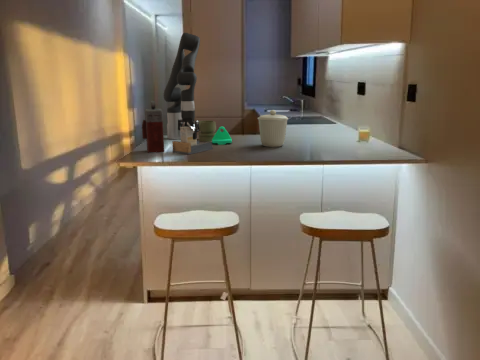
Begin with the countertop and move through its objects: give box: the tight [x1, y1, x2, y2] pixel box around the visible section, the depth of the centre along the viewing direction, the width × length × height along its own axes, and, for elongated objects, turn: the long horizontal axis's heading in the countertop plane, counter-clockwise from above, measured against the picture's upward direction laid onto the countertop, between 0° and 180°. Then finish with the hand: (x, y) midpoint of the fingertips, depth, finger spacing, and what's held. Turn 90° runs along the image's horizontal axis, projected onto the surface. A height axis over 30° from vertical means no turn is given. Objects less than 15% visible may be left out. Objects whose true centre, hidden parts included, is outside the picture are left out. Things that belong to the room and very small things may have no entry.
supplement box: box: [180, 126, 198, 146], centre depth 254 cm, size 8×5×13 cm, turn 142°
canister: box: [257, 109, 289, 148], centre depth 269 cm, size 18×18×21 cm
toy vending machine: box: [141, 100, 165, 154], centre depth 254 cm, size 9×11×28 cm
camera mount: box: [211, 126, 233, 146], centre depth 281 cm, size 12×8×10 cm, turn 92°
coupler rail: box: [172, 140, 214, 155], centre depth 257 cm, size 12×20×6 cm, turn 143°
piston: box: [198, 120, 217, 143], centre depth 294 cm, size 11×12×11 cm
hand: (189, 138), depth 254 cm, fingers open, 8 cm apart
